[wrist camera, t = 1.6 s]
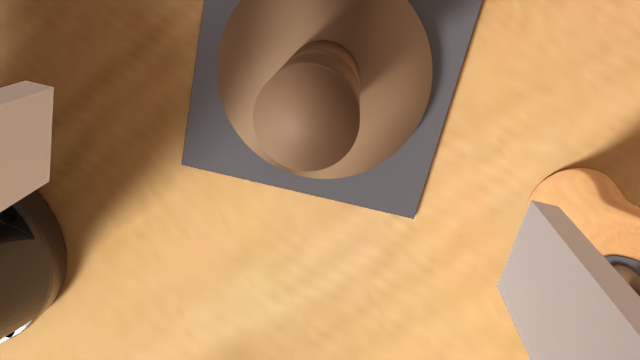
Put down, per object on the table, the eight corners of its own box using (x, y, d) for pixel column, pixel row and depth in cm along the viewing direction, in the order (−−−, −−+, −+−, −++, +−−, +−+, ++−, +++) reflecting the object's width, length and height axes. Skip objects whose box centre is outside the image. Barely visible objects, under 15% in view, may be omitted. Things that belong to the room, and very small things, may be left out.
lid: (206, 148, 35) (134, 224, 24) (239, -62, 31) (169, -90, 20) (398, 193, 35) (415, 290, 24) (458, -10, 31) (514, -7, 20)
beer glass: (550, 145, 34) (684, 256, 20) (648, 182, 34) (848, 318, 20) (500, 236, 36) (588, 394, 22) (593, 270, 37) (737, 447, 23)
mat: (183, 162, 36) (181, 164, 36) (219, -96, 31) (217, -97, 30) (413, 216, 36) (413, 218, 36) (490, -31, 31) (492, -31, 30)
